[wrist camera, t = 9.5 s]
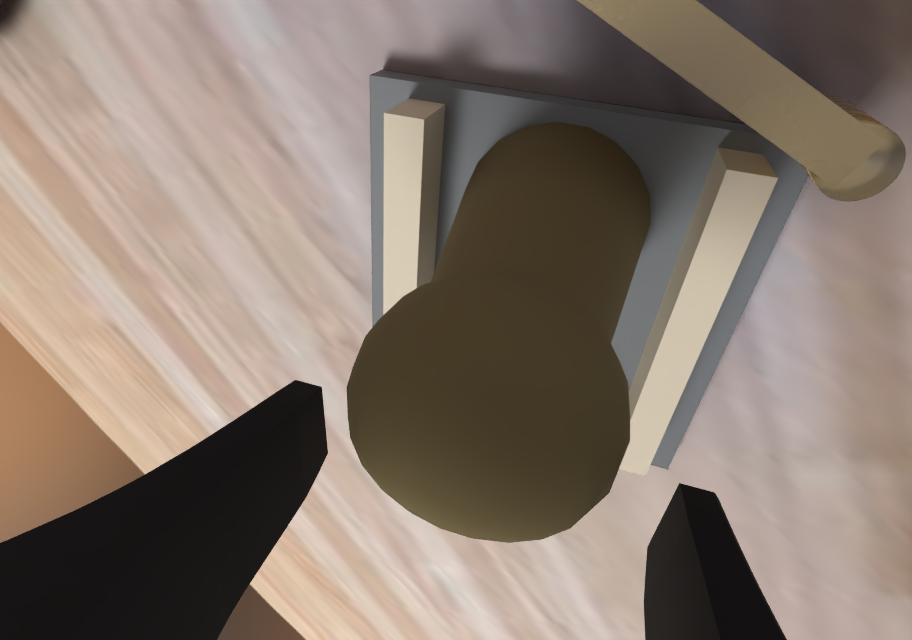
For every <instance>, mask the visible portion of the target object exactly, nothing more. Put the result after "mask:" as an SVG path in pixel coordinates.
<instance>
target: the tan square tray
mask: <svg viewBox="0 0 912 640" xmlns="http://www.w3.org/2000/svg"><path fill="white" fill-rule="evenodd" d="M552 122H560V123H566V124H572V125H578V126H584V127H589V128H591V129H593V130H594V131H596V132H598V133H600V134H602V135H604V136H606V137H607V138H609V139H611V140H613V141H615V142H617V143H618V144H619V146H620V147H621V148H622V149H623V150H624V151H625V152H626V153H627V154H628V155H629V157H630V158H631V159H632V160H633V161H634V162H635V163H636V164H637V165H638V167H639V170H640V172H641V174H642V177H643V179H644V182H645V184H646V187H647V189H648V192H649V195H650V226H649V229H648V232H647V235H646V238H645V241H644V244H643V247H642V250H641V254H640V257H639V260H638V263H637V266H636V269H635V272H634V275H633V278H632V281H631V284H630V287H629V290H628V293H627V296H626V300H625V303H624V306H623V309H622V312H621V315H620V318H619V321H618V324H617V327H616V330H615V333H614V336H613V339H612V343H611V345H612V347H613V349H614V351H615V353H616V355H617V357H618V359H619V361H620V363H621V365H622V368H623V371H624V373H625V376H626V378H627V381H628V392H629V407H630V442H629V445H628V447H627V450H626V452H625V455H624V457H623V460H622V462H621V465H620V467H619V469H621V470H625V471H628V472H632V473H636V474H639V475H643V476H646V473H647V471H648V469H649V467H650V465H653V466H657V467H661V468H665V469H668V467H669V465H670V463H671V461H672V459H673V457H674V455H675V453H676V451H677V449H678V447H679V444H680V442H681V440H682V438H683V436H684V434H685V432H686V430H687V428H688V426H689V423H690V421H691V419H692V417H693V415H694V413H695V411H696V409H697V407H698V405H699V403H700V400H701V398H702V396H703V394H704V392H705V390H706V388H707V386H708V384H709V382H710V380H711V377H712V375H713V373H714V371H715V369H716V367H717V365H718V363H719V361H720V359H721V357H722V354H723V352H724V350H725V348H726V346H727V344H728V342H729V340H730V338H731V336H732V333H733V331H734V329H735V327H736V325H737V323H738V321H739V319H740V317H741V315H742V313H743V310H744V308H745V306H746V304H747V302H748V300H749V298H750V296H751V294H752V292H753V290H754V287H755V285H756V283H757V281H758V279H759V277H760V275H761V273H762V271H763V269H764V267H765V264H766V262H767V260H768V258H769V256H770V254H771V252H772V250H773V248H774V246H775V243H776V241H777V239H778V237H779V235H780V233H781V231H782V229H783V227H784V225H785V223H786V220H787V218H788V216H789V214H790V212H791V210H792V208H793V206H794V204H795V202H796V200H797V197H798V195H799V193H800V191H801V189H802V187H803V185H804V183H805V181H806V179H807V177H808V174H807V172H806V171H805V170H804V168H803V167H802V166H801V165H800V163H799V162H798V161H796V160H795V159H794V158H792V157H791V156H789V155H788V154H787V153H785V152H784V151H783V150H781V149H780V148H779V147H777V146H776V145H774V144H773V143H772V142H770V141H769V140H768V139H766V138H765V137H763V136H762V135H761V134H759V133H758V132H757V131H755V130H754V129H752V128H751V127H750V126H748V125H747V124H741V123H734V122H728V121H721V120H714V119H708V118H701V117H694V116H688V115H681V114H674V113H667V112H661V111H654V110H647V109H641V108H634V107H627V106H621V105H614V104H607V103H600V102H594V101H587V100H580V99H574V98H567V97H560V96H554V95H547V94H540V93H534V92H527V91H520V90H513V89H507V88H500V87H493V86H487V85H480V84H473V83H467V82H460V81H453V80H446V79H440V78H433V77H426V76H420V75H413V74H406V73H400V72H393V71H386V70H381V71H378V72H376V73H374V74H371V75H370V147H371V233H372V319H373V326H374V325H375V324H376V322H377V321H378V320H379V319H380V318H381V317H382V316H383V315H384V314H385V313H386V312H387V311H388V310H389V309H390V308H391V307H393V306H394V305H395V304H396V303H397V302H398V301H399V300H400V299H401V298H402V297H403V296H405V295H406V294H408V293H410V292H411V291H413V290H414V289H416V288H418V287H419V286H422V285H424V284H427V283H429V282H431V279H432V277H433V274H434V271H435V269H436V266H437V263H438V261H439V258H440V255H441V253H442V250H443V247H444V245H445V242H446V240H447V237H448V234H449V232H450V229H451V226H452V224H453V221H454V218H455V216H456V213H457V210H458V208H459V205H460V202H461V200H462V197H463V195H464V192H465V189H466V187H467V185H468V182H469V180H470V178H471V176H472V174H473V171H474V169H475V167H476V165H477V163H478V161H479V160H480V159H481V158H482V157H483V156H484V155H485V154H486V153H487V152H488V151H489V150H490V149H491V148H492V147H493V146H494V145H495V143H496V142H497V141H499V140H501V139H503V138H505V137H507V136H508V135H510V134H512V133H514V132H516V131H518V130H520V129H522V128H524V127H527V126H534V125H540V124H546V123H552Z"/></svg>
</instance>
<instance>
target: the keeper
mask: <svg viewBox="0 0 912 640" xmlns="http://www.w3.org/2000/svg"><path fill="white" fill-rule="evenodd" d="M577 1H578V2H580V3H581V4H582V5H584V6H585V7H587V8H588V9H589V10H591V11H592V12H593V13H595V14H596V15H597V16H599V17H600V18H602V19H603V20H604V21H606V22H607V23H608V24H610V25H611V26H613V27H614V28H615V29H617V30H618V31H619V32H621V33H622V34H624V35H625V36H626V37H628V38H629V39H630V40H632V41H633V42H635V43H636V44H637V45H639V46H640V47H641V48H643V49H644V50H645V51H647V52H648V53H650V54H651V55H652V56H654V57H655V58H656V59H658V60H659V61H661V62H662V63H663V64H665V65H666V66H667V67H669V68H670V69H672V70H673V71H674V72H676V73H677V74H678V75H680V76H681V77H683V78H684V79H685V80H687V81H688V82H689V83H691V84H692V85H693V86H695V87H696V88H698V89H699V90H700V91H702V92H703V93H704V94H706V95H707V96H709V97H710V98H711V99H713V100H714V101H715V102H717V103H718V104H720V105H721V106H722V107H724V108H725V109H726V110H728V111H729V112H731V113H732V114H733V115H735V116H736V117H737V118H739V119H740V120H741V121H743V122H744V123H746V124H747V125H748V126H750V127H751V128H752V129H754V130H755V131H757V132H758V133H759V134H761V135H762V136H763V137H765V138H766V139H768V140H769V141H770V142H772V143H773V144H774V145H776V146H777V147H779V148H780V149H781V150H783V151H784V152H785V153H787V154H788V155H789V156H791V157H792V158H794V159H795V160H796V161H798V162H799V163H800V165H801V166H802V167H803V168H804V170H805V171H806V172H807V174H808V175H809V176H810V177H811V179H812V180H813V181H814V182H815V184H816V185H817V186H818V188H819V189H820V190H821V191H822V192H823V193H824V194H825V195H827V196H828V197H830V198H833V199H835V200H840V201H857V200H862V199H866V198H868V197H871V196H873V195H875V194H877V193H879V192H881V191H882V190H884V189H885V188H886V187H888V186H889V185H890V184H891V183H892V182H893V181H894V180H895V179H896V178H897V176H898V175H899V173H900V172H901V170H902V168H903V165H904V162H905V156H906V152H905V146H904V144H903V142H902V140H901V139H900V137H899V136H898V135H897V134H896V133H894V132H893V131H891V130H890V129H888V128H887V127H885V126H884V125H882V124H881V123H879V122H878V121H876V120H875V119H873V118H872V117H871V116H869V115H868V114H866V113H865V112H863V111H862V110H860V109H859V108H857V107H856V106H854V105H853V104H851V103H850V102H848V101H847V100H845V99H842V98H838V97H825V96H824V95H823V94H821V93H820V92H819V91H817V90H816V89H815V88H813V87H812V86H811V85H809V84H808V83H807V82H805V81H804V80H803V79H801V78H800V77H799V76H797V75H796V74H795V73H793V72H792V71H791V70H789V69H788V68H787V67H785V66H784V65H783V64H781V63H780V62H779V61H777V60H776V59H774V58H773V57H772V56H770V55H769V54H768V53H766V52H765V51H764V50H762V49H761V48H760V47H758V46H757V45H756V44H754V43H753V42H752V41H750V40H749V39H748V38H746V37H745V36H744V35H742V34H741V33H740V32H738V31H737V30H736V29H734V28H733V27H732V26H730V25H729V24H728V23H726V22H725V21H724V20H722V19H721V18H719V17H718V16H717V15H715V14H714V13H713V12H711V11H710V10H709V9H707V8H706V7H705V6H703V5H702V4H701V3H699V2H698V1H697V0H577Z"/></svg>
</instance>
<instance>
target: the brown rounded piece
mask: <svg viewBox="0 0 912 640" xmlns="http://www.w3.org/2000/svg"><path fill="white" fill-rule="evenodd" d="M649 226H650V195H649V192H648V189H647V187H646V184H645V182H644V179H643V177H642V174H641V172H640V170H639V167H638V165H637V164H636V163H635V162H634V161H633V160H632V159H631V158H630V157H629V155H628V154H627V153H626V152H625V151H624V150H623V149H622V148H621V147H620V146H619V144H618V143H617V142H615V141H613V140H611V139H609V138H607V137H606V136H604V135H602V134H600V133H598V132H596V131H594V130H593V129H591V128H589V127H584V126H578V125H572V124H566V123H560V122H552V123H546V124H540V125H534V126H527V127H524V128H522V129H520V130H518V131H516V132H514V133H512V134H510V135H508V136H507V137H505V138H503V139H501V140H499V141H497V142H496V143H495V145H494V146H493V147H492V148H491V149H490V150H489V151H488V152H487V153H486V154H485V155H484V156H483V157H482V158H481V159H480V160H479V161H478V163H477V165H476V167H475V169H474V171H473V174H472V176H471V178H470V180H469V182H468V185H467V187H466V189H465V192H464V195H463V197H462V200H461V202H460V205H459V208H458V210H457V213H456V216H455V218H454V221H453V224H452V226H451V229H450V232H449V234H448V237H447V240H446V242H445V245H444V247H443V250H442V253H441V255H440V258H439V261H438V263H437V266H436V269H435V271H434V274H433V277H432V279H431V282H429V283H427V284H424V285H422V286H419V287H418V288H416V289H414V290H413V291H411V292H410V293H408V294H406V295H405V296H403V297H402V298H401V299H400V300H399V301H398V302H397V303H396V304H395V305H394V306H393V307H391V308H390V309H389V310H388V311H387V312H386V313H385V314H384V315H383V316H382V317H381V318H380V319H379V320H378V321H377V322H376V324H375V325H374V326H373V328H372V329H371V330H370V331H369V333H368V334H367V335H366V337H365V339H364V341H363V344H362V346H361V348H360V351H359V353H358V356H357V358H356V361H355V363H354V366H353V369H352V372H351V375H350V379H349V382H348V385H347V405H348V421H349V430H350V438H351V440H352V443H353V445H354V447H355V450H356V452H357V454H358V457H359V459H360V462H361V464H362V466H363V467H364V468H365V469H366V471H367V472H368V473H369V474H370V476H371V477H372V478H373V479H374V481H375V482H376V483H377V484H378V486H379V487H380V488H381V489H382V490H383V491H384V492H385V493H387V494H388V495H389V496H390V497H392V498H393V499H394V500H395V501H396V502H398V503H399V504H400V505H401V506H403V507H404V508H405V509H406V510H408V511H409V512H411V513H412V514H414V515H416V516H418V517H420V518H422V519H424V520H425V521H427V522H429V523H431V524H433V525H435V526H437V527H439V528H441V529H444V530H447V531H450V532H454V533H457V534H460V535H463V536H466V537H469V538H474V539H482V540H491V541H499V542H507V543H510V542H520V541H531V540H541V539H544V538H547V537H549V536H552V535H554V534H557V533H559V532H562V531H565V530H567V529H570V528H571V527H572V526H573V525H574V524H576V523H577V522H578V521H579V520H580V519H581V518H582V517H583V516H584V515H586V514H587V513H588V512H589V511H590V510H591V509H592V508H593V507H594V506H595V505H596V504H598V503H599V502H600V501H601V500H602V499H603V498H604V497H605V496H606V495H607V494H608V493H609V492H610V489H611V487H612V484H613V482H614V479H615V477H616V475H617V472H618V470H619V467H620V465H621V462H622V460H623V457H624V455H625V452H626V450H627V447H628V445H629V442H630V407H629V392H628V381H627V378H626V376H625V373H624V371H623V368H622V365H621V363H620V361H619V359H618V357H617V355H616V353H615V351H614V349H613V347H612V345H611V343H612V339H613V336H614V333H615V330H616V327H617V324H618V321H619V318H620V315H621V312H622V309H623V306H624V303H625V300H626V296H627V293H628V290H629V287H630V284H631V281H632V278H633V275H634V272H635V269H636V266H637V263H638V260H639V257H640V254H641V250H642V247H643V244H644V241H645V238H646V235H647V232H648V229H649Z"/></svg>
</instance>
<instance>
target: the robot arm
mask: <svg viewBox="0 0 912 640" xmlns="http://www.w3.org/2000/svg"><path fill="white" fill-rule="evenodd" d="M327 454H328V449H327V439H326V428H325V417H324V407H323V396H322V387H320V386H316V385H312V384H308V383H305V382H301V381H297V380H295V381H293V382H292V383H290V384H288V385H287V386H285V387H284V388H282V389H281V390H279V391H278V392H276V393H275V394H273V395H272V396H270V397H269V398H267V399H266V400H264V401H263V402H261V403H260V404H258V405H257V406H255V407H254V408H252V409H251V410H249V411H247V412H246V413H244V414H243V415H241V416H240V417H238V418H237V419H235V420H234V421H232V422H231V423H229V424H228V425H226V426H225V427H223V428H221V429H220V430H218V431H217V432H215V433H214V434H212V435H210V436H209V437H207V438H206V439H204V440H203V441H201V442H199V443H198V444H196V445H195V446H193V447H191V448H190V449H188V450H186V451H185V452H183V453H181V454H180V455H178V456H176V457H174V458H173V459H171V460H169V461H168V462H166V463H164V464H162V465H161V466H159V467H157V468H156V469H154V470H152V471H151V472H149V473H147V474H145V475H143V476H142V477H140V478H138V479H136V480H134V481H133V482H131V483H129V484H127V485H125V486H123V487H121V488H119V489H117V490H115V491H113V492H112V493H110V494H107V495H105V496H104V497H101V498H99V499H98V500H95V501H94V502H91V503H90V504H87V505H85V506H83V507H81V508H79V509H77V510H75V511H73V512H70V513H68V514H66V515H64V516H61V517H59V518H57V519H55V520H53V521H50V522H48V523H46V524H43V525H41V526H39V527H37V528H34V529H32V530H30V531H27V532H25V533H23V534H20V535H18V536H16V537H14V538H11V539H9V540H7V541H4V542H2V543H0V640H217V639H218V636H219V635H220V633H221V631H222V629H223V627H224V626H225V624H226V622H227V620H228V618H229V616H230V614H231V613H232V611H233V609H234V608H235V606H236V605H237V603H238V601H239V600H240V598H241V596H242V594H243V593H244V591H245V590H246V588H247V587H248V585H249V584H250V582H251V581H252V579H253V578H254V576H255V575H256V573H257V572H258V570H259V569H260V567H261V566H262V564H263V562H264V561H265V559H266V558H267V556H268V555H269V553H270V552H271V550H272V549H273V547H274V546H275V544H276V543H277V541H278V540H279V538H280V537H281V535H282V534H283V532H284V531H285V529H286V528H287V526H288V524H289V523H290V521H291V520H292V518H293V517H294V515H295V514H296V512H297V511H298V509H299V507H300V506H301V504H302V503H303V501H304V500H305V498H306V496H307V494H308V492H309V491H310V489H311V487H312V485H313V483H314V481H315V479H316V477H317V475H318V473H319V471H320V468H321V466H322V464H323V462H324V460H325V458H326V456H327ZM644 616H645V639H646V640H787V639H786V637H785V636H784V634H783V632H782V630H781V628H780V626H779V624H778V622H777V620H776V618H775V616H774V614H773V613H772V611H771V609H770V607H769V605H768V603H767V601H766V599H765V597H764V595H763V593H762V591H761V589H760V587H759V585H758V583H757V581H756V579H755V577H754V575H753V573H752V571H751V569H750V567H749V565H748V563H747V560H746V558H745V556H744V554H743V552H742V550H741V548H740V546H739V543H738V541H737V539H736V537H735V535H734V533H733V530H732V528H731V526H730V524H729V521H728V519H727V517H726V515H725V512H724V510H723V508H722V506H721V503H720V501H719V499H718V497H717V496H716V494H715V493H714V492H710V491H706V490H703V489H699V488H695V487H692V486H688V485H684V484H680V483H679V485H678V487H677V489H676V491H675V493H674V495H673V497H672V499H671V501H670V503H669V505H668V507H667V509H666V511H665V513H664V515H663V517H662V519H661V521H660V523H659V525H658V527H657V529H656V531H655V533H654V535H653V537H652V539H651V541H650V543H649V545H648V549H647V562H646V575H645V593H644Z"/></svg>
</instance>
